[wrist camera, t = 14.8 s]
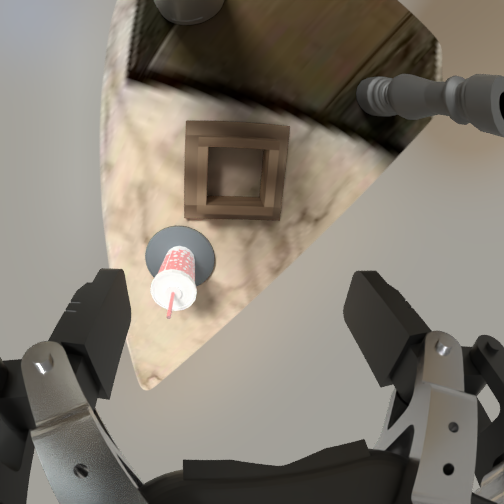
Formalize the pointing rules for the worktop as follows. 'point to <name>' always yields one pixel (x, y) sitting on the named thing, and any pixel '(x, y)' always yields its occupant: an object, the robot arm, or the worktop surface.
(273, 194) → the stepped square tray
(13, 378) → the robot arm
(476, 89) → the candle holder
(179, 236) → the slate coaster
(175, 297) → the beverage cup
